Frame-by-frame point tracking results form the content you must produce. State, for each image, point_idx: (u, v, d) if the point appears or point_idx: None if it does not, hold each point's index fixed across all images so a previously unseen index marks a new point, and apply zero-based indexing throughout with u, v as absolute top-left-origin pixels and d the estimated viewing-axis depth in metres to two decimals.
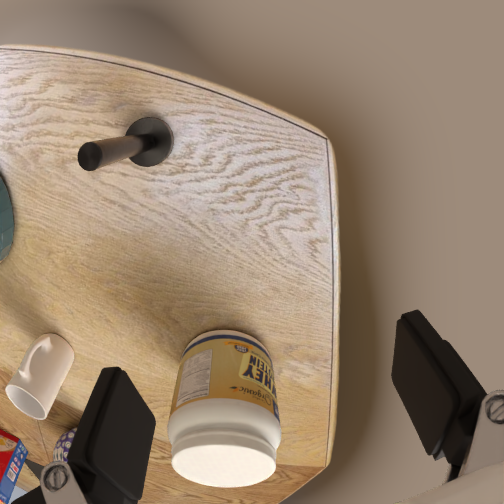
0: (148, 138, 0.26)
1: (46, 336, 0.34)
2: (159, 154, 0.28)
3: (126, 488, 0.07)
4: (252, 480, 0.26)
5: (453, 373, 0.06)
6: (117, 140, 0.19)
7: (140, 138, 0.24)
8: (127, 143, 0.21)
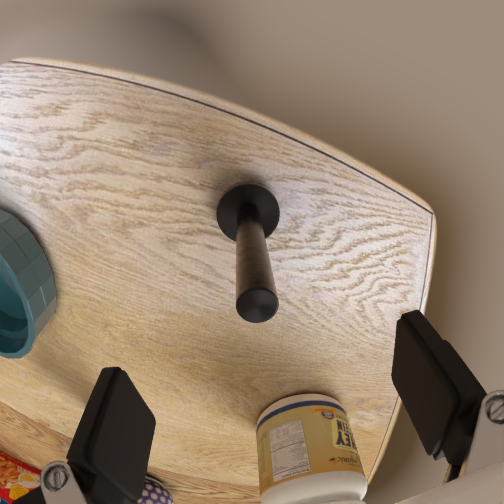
0: (260, 218, 0.23)
1: None
2: (263, 230, 0.25)
3: (126, 488, 0.07)
4: None
5: (453, 373, 0.06)
6: (265, 256, 0.16)
7: (261, 226, 0.20)
8: (267, 251, 0.17)
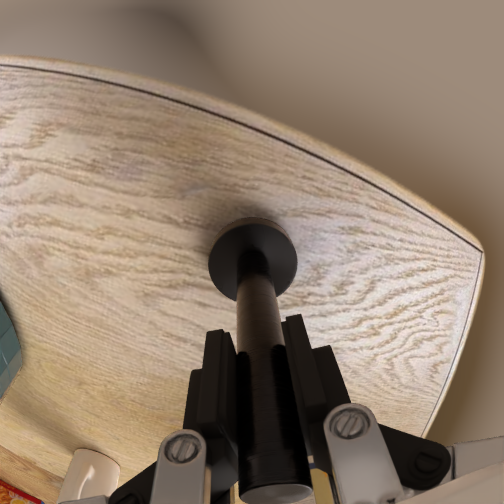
0: (271, 277, 0.15)
1: (88, 466, 0.24)
2: (274, 287, 0.18)
3: None
4: None
5: (305, 378, 0.07)
6: (286, 382, 0.09)
7: (274, 299, 0.13)
8: None
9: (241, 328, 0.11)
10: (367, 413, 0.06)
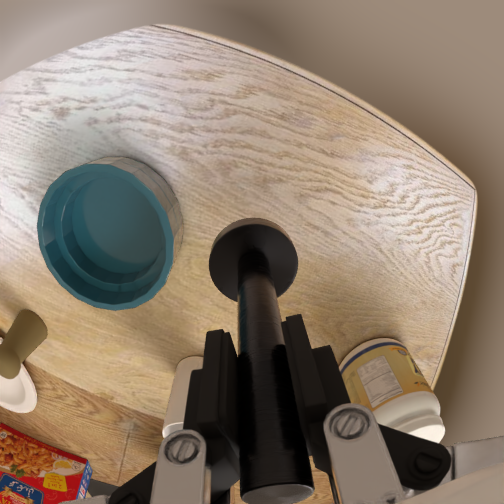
0: (272, 278, 0.15)
1: None
2: (274, 287, 0.18)
3: None
4: None
5: (305, 378, 0.07)
6: (287, 382, 0.09)
7: (275, 300, 0.13)
8: None
9: (242, 329, 0.11)
10: (367, 413, 0.06)
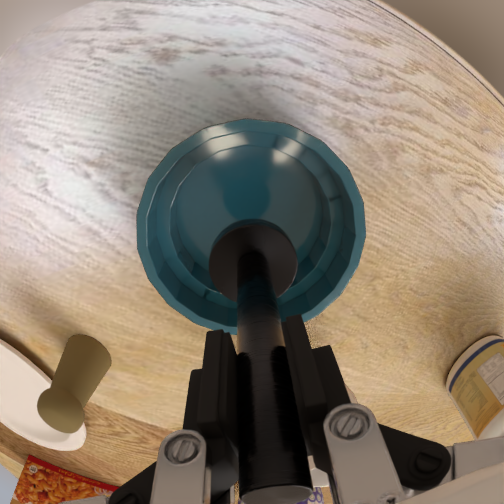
0: (271, 279, 0.15)
1: None
2: (274, 288, 0.18)
3: None
4: None
5: (305, 378, 0.07)
6: (287, 383, 0.09)
7: (274, 300, 0.13)
8: None
9: (241, 330, 0.11)
10: (368, 413, 0.06)
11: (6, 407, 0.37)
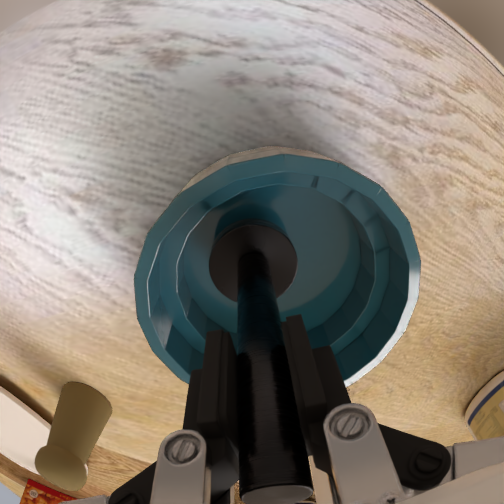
0: (271, 279, 0.15)
1: None
2: (274, 288, 0.18)
3: None
4: None
5: (305, 378, 0.07)
6: (287, 383, 0.09)
7: (275, 300, 0.13)
8: None
9: (242, 329, 0.11)
10: (367, 413, 0.06)
11: (2, 438, 0.32)
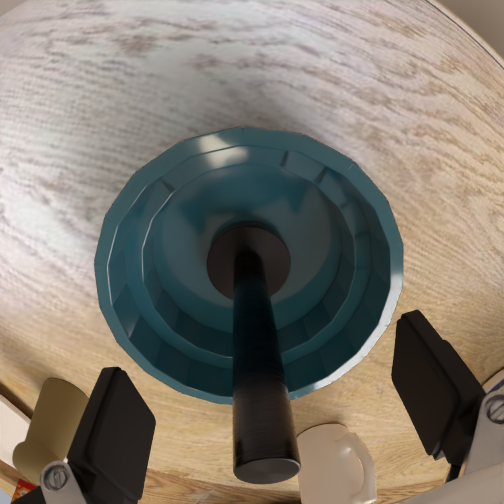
0: (265, 277, 0.16)
1: (356, 434, 0.24)
2: (269, 286, 0.19)
3: (126, 488, 0.07)
4: None
5: (453, 373, 0.06)
6: (277, 369, 0.10)
7: (268, 296, 0.14)
8: None
9: (237, 322, 0.12)
10: None
11: None
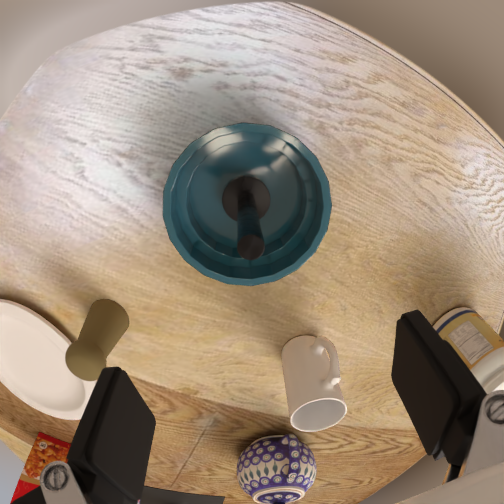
0: (255, 201, 0.30)
1: (325, 337, 0.38)
2: (258, 212, 0.33)
3: (126, 488, 0.07)
4: None
5: (453, 373, 0.06)
6: (257, 221, 0.23)
7: (255, 206, 0.28)
8: (259, 220, 0.25)
9: (239, 212, 0.26)
10: None
11: (22, 380, 0.44)
